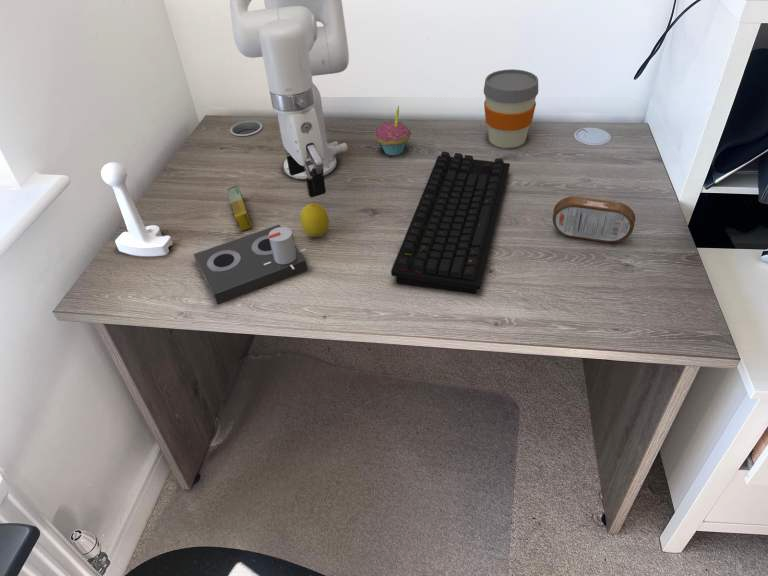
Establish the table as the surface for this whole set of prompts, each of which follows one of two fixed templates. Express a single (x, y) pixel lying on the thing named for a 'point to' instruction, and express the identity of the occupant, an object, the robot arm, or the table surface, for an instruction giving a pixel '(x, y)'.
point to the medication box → (239, 208)
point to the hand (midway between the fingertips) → (307, 183)
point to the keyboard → (453, 225)
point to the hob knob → (282, 245)
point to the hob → (246, 268)
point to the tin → (593, 219)
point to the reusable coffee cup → (509, 106)
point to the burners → (237, 255)
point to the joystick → (133, 219)
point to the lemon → (314, 220)
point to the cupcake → (392, 136)
